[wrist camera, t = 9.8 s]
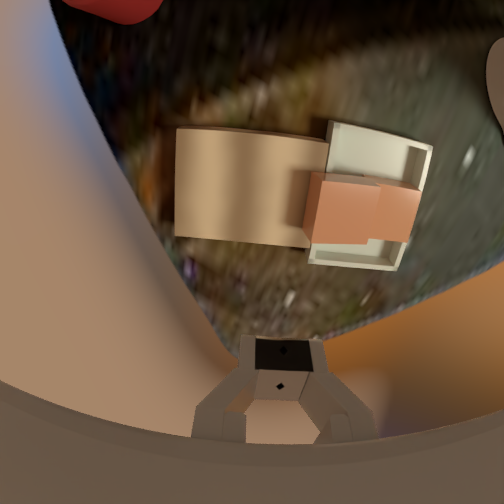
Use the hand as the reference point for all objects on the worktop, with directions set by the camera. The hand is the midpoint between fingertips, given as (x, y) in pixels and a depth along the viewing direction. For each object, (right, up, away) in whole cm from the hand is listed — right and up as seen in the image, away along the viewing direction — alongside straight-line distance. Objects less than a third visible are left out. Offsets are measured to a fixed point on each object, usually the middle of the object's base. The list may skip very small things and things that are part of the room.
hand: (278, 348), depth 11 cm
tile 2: (+13, +9, +21) cm, 26 cm away
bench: (-1, +11, +20) cm, 23 cm away
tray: (+11, +10, +21) cm, 26 cm away
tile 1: (+7, +8, +18) cm, 21 cm away
